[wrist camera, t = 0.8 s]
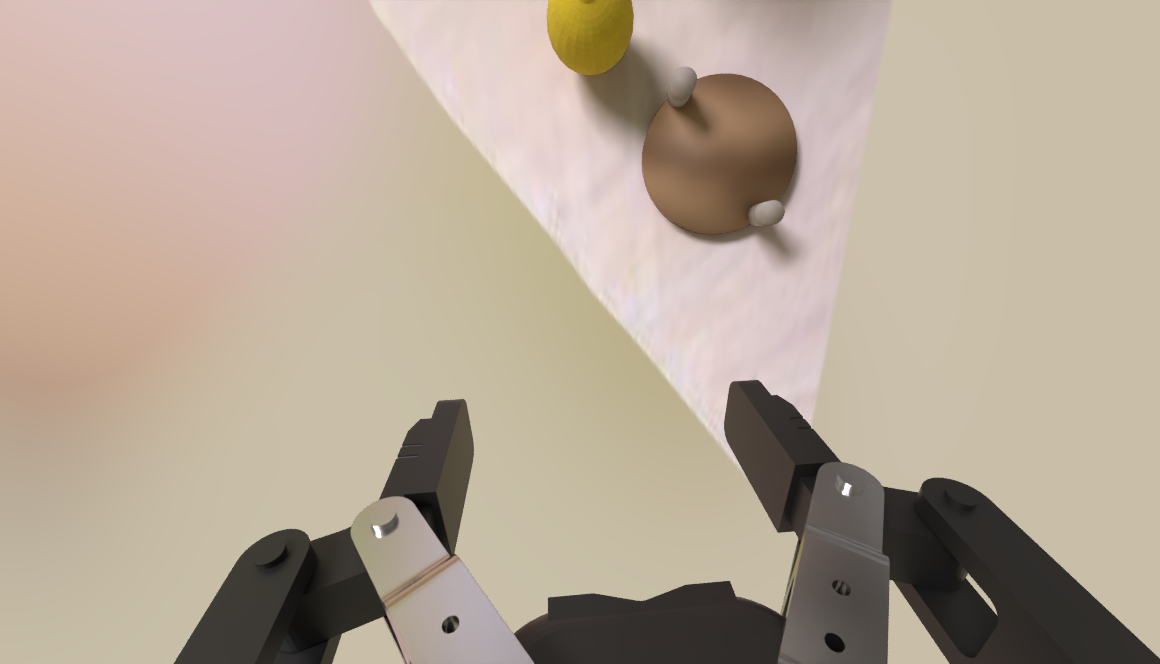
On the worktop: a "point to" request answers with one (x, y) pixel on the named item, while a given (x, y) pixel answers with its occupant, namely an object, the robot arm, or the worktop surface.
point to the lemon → (590, 32)
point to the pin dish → (719, 153)
